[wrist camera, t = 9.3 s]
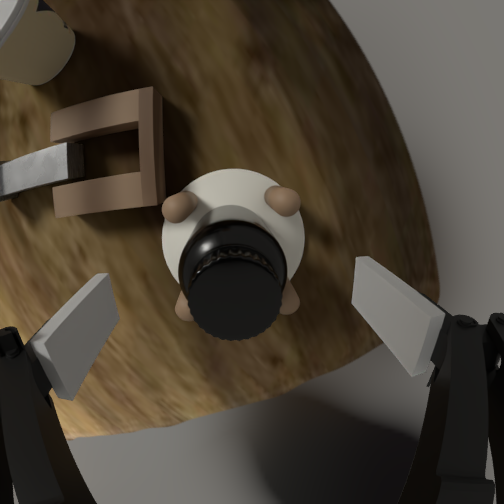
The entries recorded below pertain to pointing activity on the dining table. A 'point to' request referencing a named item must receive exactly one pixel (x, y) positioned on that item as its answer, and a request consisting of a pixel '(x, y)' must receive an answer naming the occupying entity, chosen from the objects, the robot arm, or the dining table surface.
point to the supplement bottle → (233, 273)
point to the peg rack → (241, 194)
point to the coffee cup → (32, 42)
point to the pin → (41, 169)
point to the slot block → (108, 122)
